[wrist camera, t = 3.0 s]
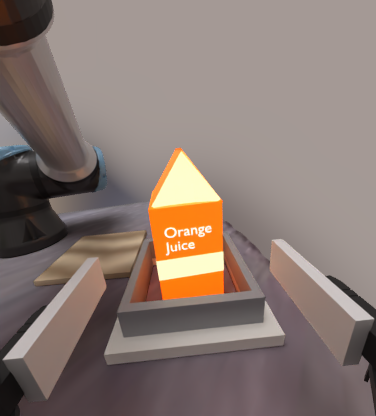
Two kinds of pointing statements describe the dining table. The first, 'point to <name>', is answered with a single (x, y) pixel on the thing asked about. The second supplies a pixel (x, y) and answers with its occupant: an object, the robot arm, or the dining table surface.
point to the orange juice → (187, 231)
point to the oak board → (97, 247)
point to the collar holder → (191, 316)
